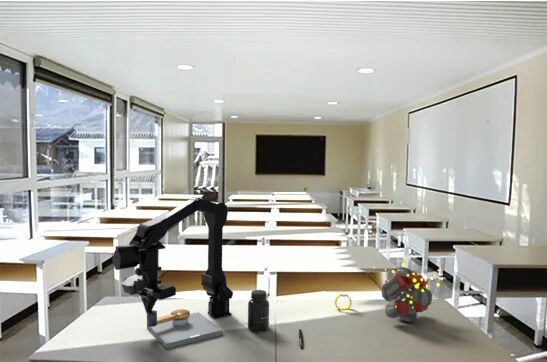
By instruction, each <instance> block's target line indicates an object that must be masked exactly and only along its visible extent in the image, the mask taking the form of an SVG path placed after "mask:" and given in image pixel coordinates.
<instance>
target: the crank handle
mask: <svg viewBox="0 0 547 362" xmlns="http://www.w3.org/2000/svg"><path fill="white" fill-rule="evenodd" d="M190 314H191V312H190V310H188V309H175V310H173V311H171V312H170V314H166V315H164V316H163V315H162V316H160V317H158V311H157V310H154V309H152V310H151V311H148V312H147V313H146V327H147V326H148V327H154V326H156V325H158V324H161V323H165V322H168V321H171V320H183V319H187V318H189V317H190Z"/></svg>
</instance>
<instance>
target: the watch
mask: <svg viewBox="0 0 547 362" xmlns="http://www.w3.org/2000/svg"><path fill="white" fill-rule="evenodd" d="M341 297H344V298H345V297H346V298H348V299H349V300H348V301H349V303H348V305H347V306H346V307H339V306H338V305H337V302H338V299H339V298H341ZM334 305H335V307H336V309H337V310H338V311H343V310H344V311H348V310H349V309H350V308H351V306H352V298H351V297H350V296H349V295H348V293H346V292H339V294H338V295H336V296H335V299H334Z"/></svg>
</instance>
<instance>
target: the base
mask: <svg viewBox="0 0 547 362" xmlns="http://www.w3.org/2000/svg"><path fill="white" fill-rule="evenodd" d="M146 329H147V330H148V329H149V330H150V331H151V332H152V333H151V332H150V333H151V334H152V336H154V337H155V338H156V339H157V341H158V340H159V341H160V342H161V343H162V344H161V343H160V342H159V341H158V342H159V343H160V344H161V345H162V346H163V347H164V348H165V349H166V348H168V349H171V348H170V347H172V348H175V347H174V346H176V347H178V345H179V346H183V345H186V343H187V344H190V343H194V342H199V341H203V340H206V339H210V338H215V337H219V336H222V335H223V329H221V327H219V325H216V324H215V322H212V321H211V320H210V319H209V318H208V317H206V316H204V315H203V314H202V313H200V312H194V313H190V317H189V318H187V319H183V320H171V321H168V322H165V323H161V324H158V325H156V326H154V327H148V326H147V325H146ZM149 330H148V331H149ZM182 344H183V345H182Z"/></svg>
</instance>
